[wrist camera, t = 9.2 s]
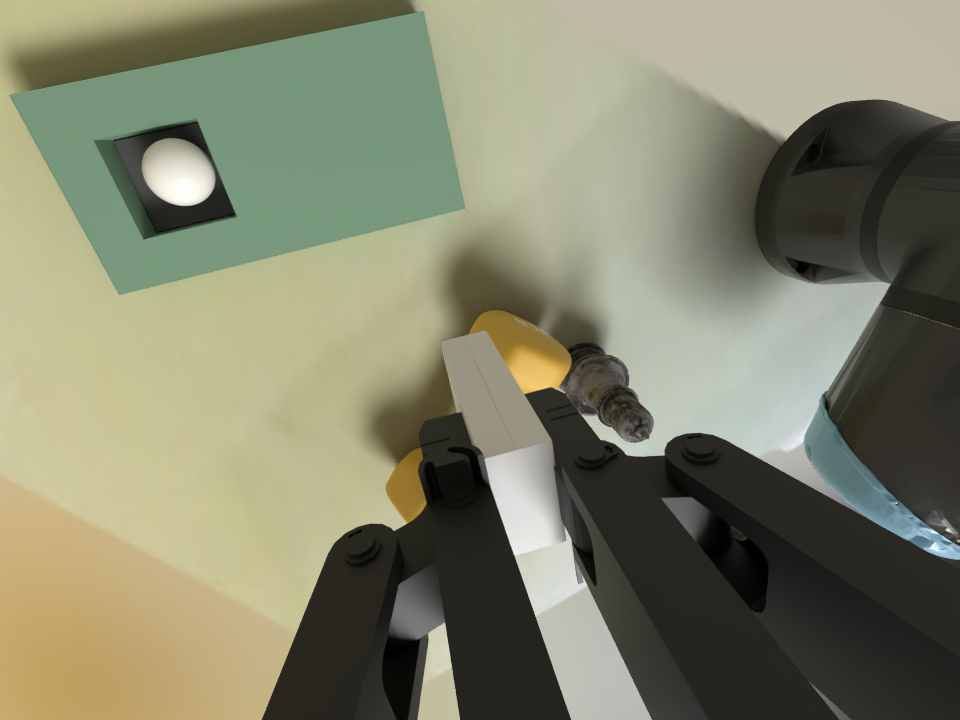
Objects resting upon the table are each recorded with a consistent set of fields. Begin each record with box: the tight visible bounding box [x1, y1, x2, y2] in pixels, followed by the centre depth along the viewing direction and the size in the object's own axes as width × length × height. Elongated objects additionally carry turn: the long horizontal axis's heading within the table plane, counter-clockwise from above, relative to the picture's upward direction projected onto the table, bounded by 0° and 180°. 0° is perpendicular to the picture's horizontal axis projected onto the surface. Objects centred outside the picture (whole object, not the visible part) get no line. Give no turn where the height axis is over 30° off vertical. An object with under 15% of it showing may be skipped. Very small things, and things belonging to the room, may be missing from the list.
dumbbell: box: [386, 310, 572, 523], centre depth 42 cm, size 19×9×8 cm, turn 151°
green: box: [9, 11, 465, 295], centre depth 33 cm, size 24×12×2 cm, turn 102°
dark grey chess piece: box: [559, 343, 654, 443], centre depth 41 cm, size 6×6×12 cm
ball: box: [142, 138, 216, 206], centre depth 32 cm, size 4×4×4 cm
